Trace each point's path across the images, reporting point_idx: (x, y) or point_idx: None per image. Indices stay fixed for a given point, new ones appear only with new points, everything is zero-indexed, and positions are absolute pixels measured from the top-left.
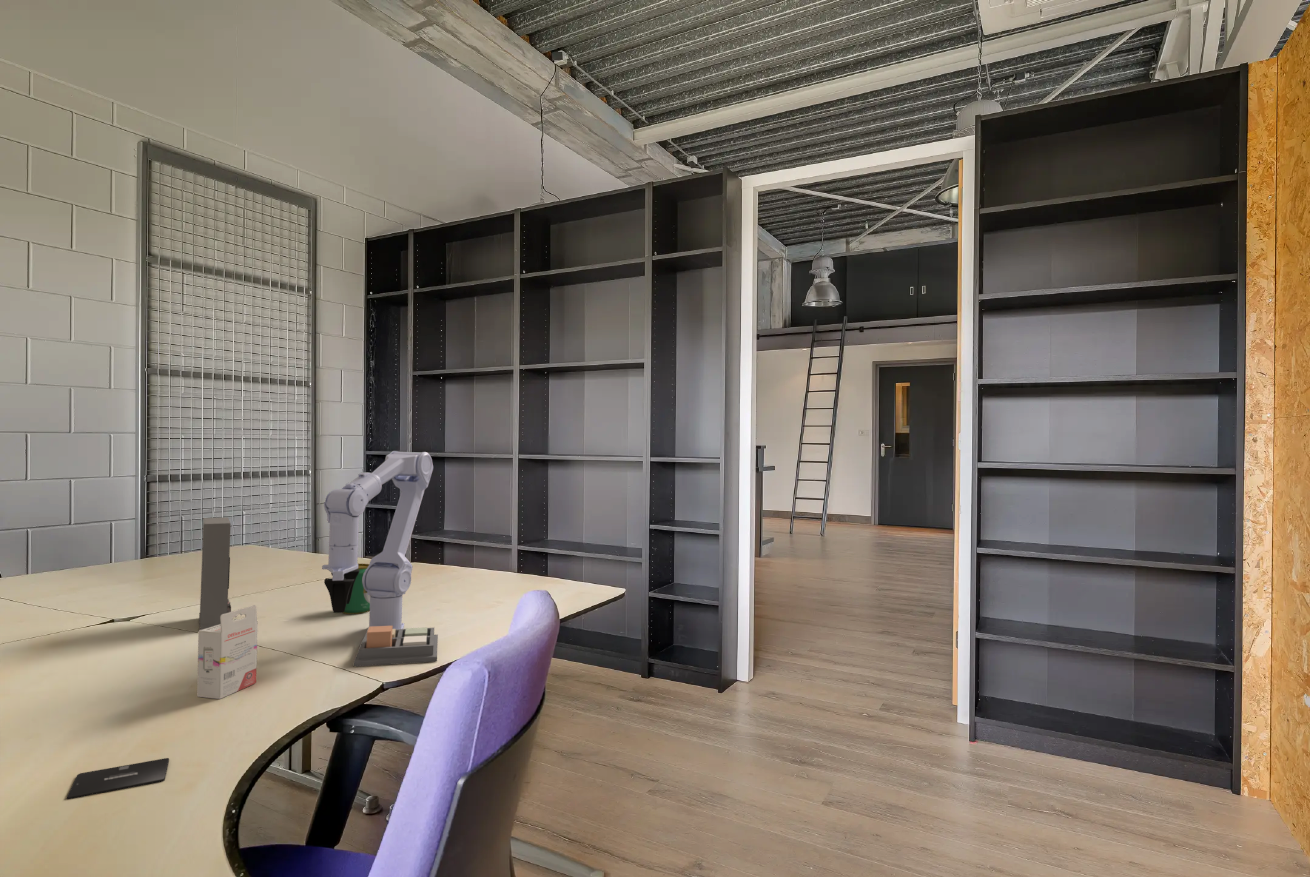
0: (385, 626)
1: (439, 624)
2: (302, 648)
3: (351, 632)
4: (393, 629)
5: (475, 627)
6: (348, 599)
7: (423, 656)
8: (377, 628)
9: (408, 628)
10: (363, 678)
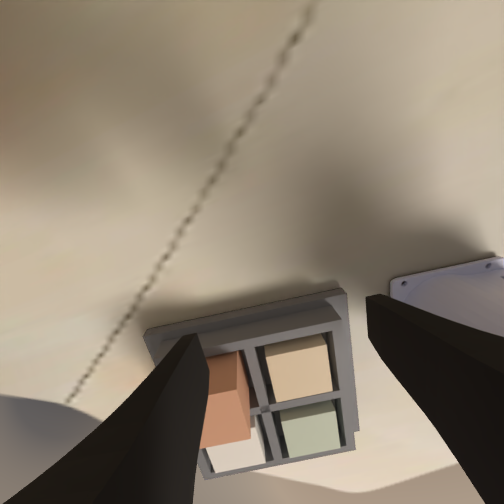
0: (239, 426)
1: None
2: (299, 140)
3: (452, 223)
4: (326, 388)
5: (431, 459)
6: (380, 351)
7: None
8: (215, 414)
9: (333, 415)
10: (76, 370)
